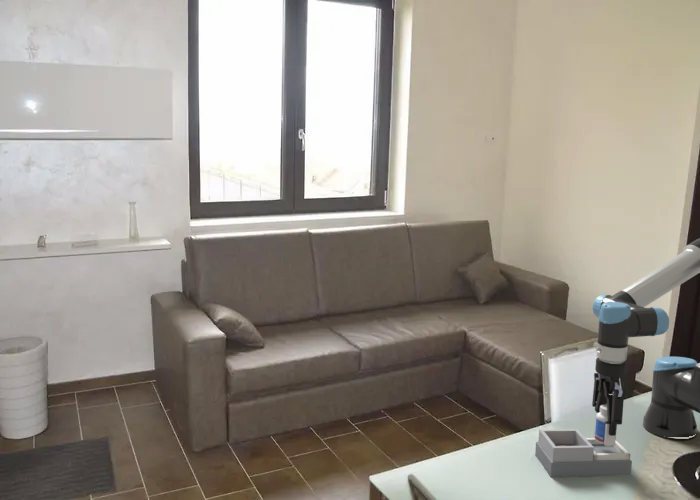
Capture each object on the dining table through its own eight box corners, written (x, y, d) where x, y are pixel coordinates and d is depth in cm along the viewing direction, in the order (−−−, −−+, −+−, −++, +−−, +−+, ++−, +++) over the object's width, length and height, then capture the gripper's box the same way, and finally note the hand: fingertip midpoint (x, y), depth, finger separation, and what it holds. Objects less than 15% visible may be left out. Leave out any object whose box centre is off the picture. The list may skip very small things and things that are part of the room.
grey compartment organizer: (610, 453, 183) (612, 427, 181) (630, 475, 171) (633, 447, 169) (535, 455, 181) (536, 428, 180) (550, 476, 170) (552, 448, 168)
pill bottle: (606, 446, 172) (608, 412, 170) (590, 438, 176) (592, 405, 175) (620, 442, 174) (622, 409, 172) (604, 434, 179) (606, 402, 177)
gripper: (583, 348, 180) (577, 425, 184) (613, 371, 162) (606, 456, 166) (609, 348, 181) (602, 425, 184) (641, 371, 162) (634, 455, 166)
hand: (604, 439), depth 175 cm, fingers closed on pill bottle, 5 cm apart
